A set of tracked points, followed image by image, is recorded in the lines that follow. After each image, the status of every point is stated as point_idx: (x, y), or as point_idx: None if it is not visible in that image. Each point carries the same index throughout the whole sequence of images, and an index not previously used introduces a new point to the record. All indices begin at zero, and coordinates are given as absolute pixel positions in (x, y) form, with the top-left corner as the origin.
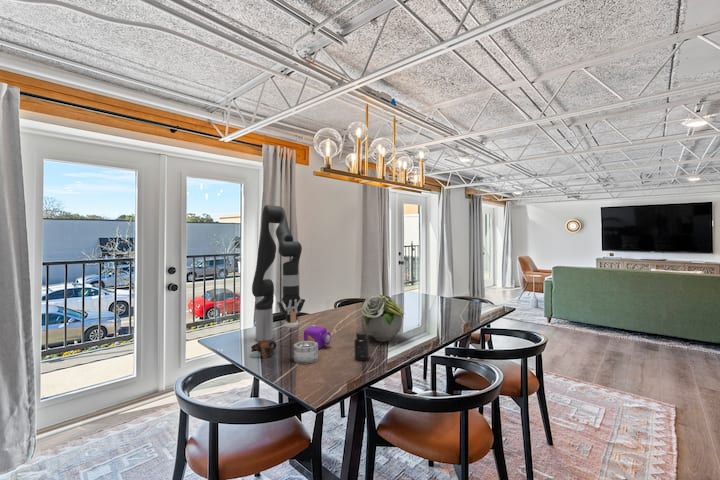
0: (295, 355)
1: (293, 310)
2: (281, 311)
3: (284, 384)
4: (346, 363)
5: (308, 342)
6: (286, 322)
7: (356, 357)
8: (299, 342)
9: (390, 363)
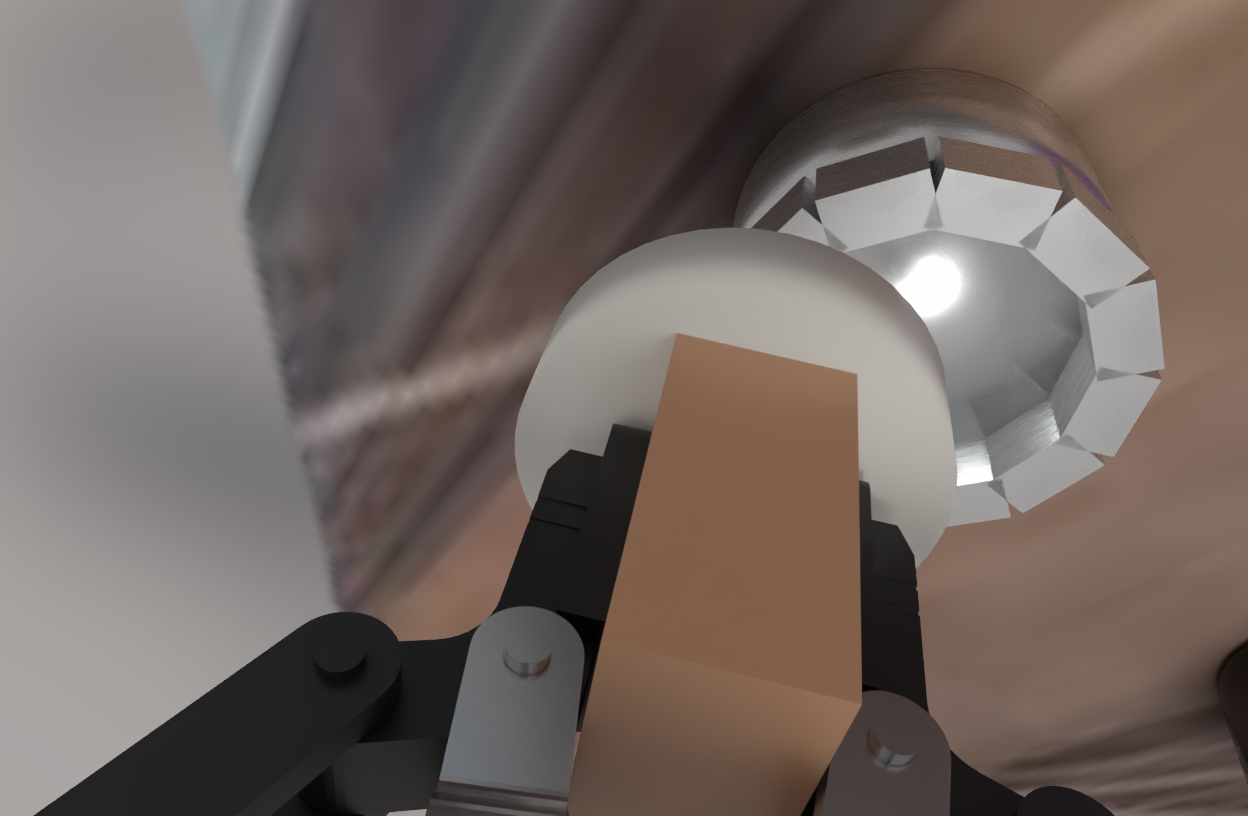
0: None
1: (830, 799)
2: (252, 687)
3: (351, 515)
4: (1076, 631)
5: (1082, 296)
6: (572, 435)
7: (1230, 689)
8: (950, 203)
9: None
